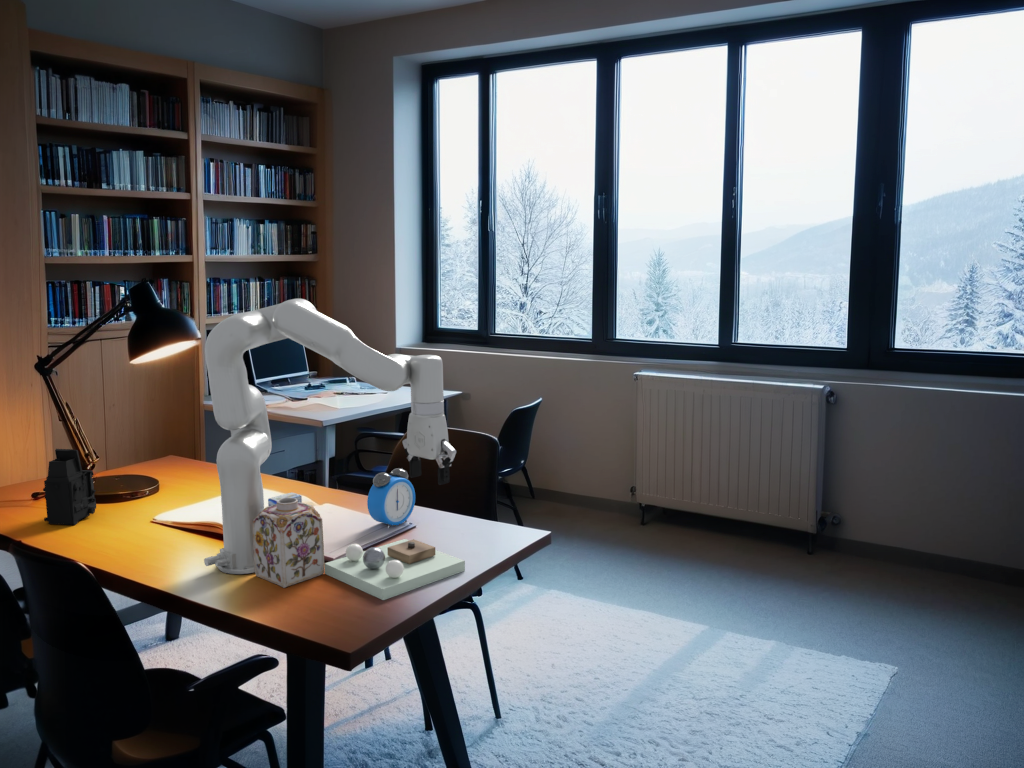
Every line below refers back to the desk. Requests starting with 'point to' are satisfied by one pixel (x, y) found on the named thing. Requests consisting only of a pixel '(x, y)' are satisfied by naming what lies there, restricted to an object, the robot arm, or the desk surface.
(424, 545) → the lid
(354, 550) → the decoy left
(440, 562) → the board
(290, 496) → the medicine box
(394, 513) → the alarm clock
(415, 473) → the robot arm
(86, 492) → the camera
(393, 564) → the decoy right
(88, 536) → the desk surface
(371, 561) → the ball
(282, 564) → the decorative jar
